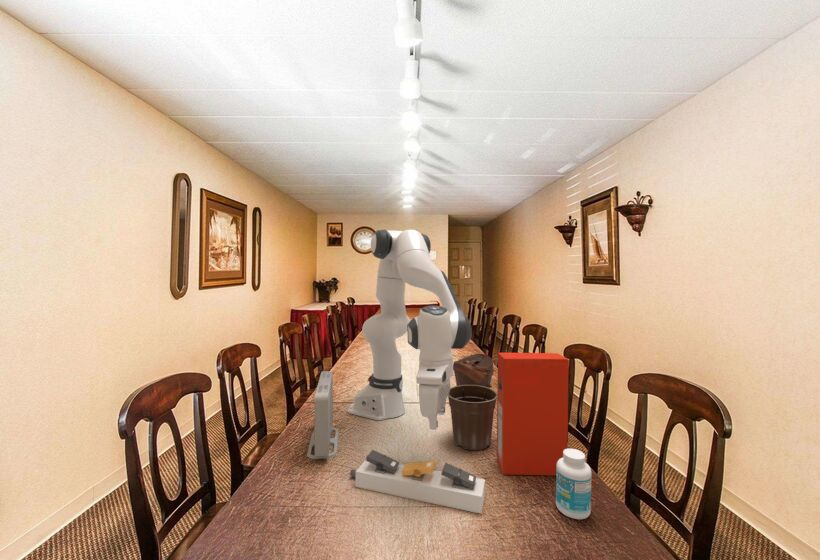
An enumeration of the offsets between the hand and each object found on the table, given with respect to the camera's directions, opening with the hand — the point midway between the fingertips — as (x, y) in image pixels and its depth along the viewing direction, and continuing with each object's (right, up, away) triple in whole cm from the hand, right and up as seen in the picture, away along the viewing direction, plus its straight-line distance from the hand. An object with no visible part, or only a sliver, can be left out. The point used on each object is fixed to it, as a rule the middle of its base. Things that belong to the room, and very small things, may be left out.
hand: (437, 420), depth 92 cm
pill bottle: (+31, -17, -10) cm, 37 cm away
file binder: (+27, -16, +7) cm, 32 cm away
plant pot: (+13, -16, +22) cm, 30 cm away
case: (+20, -15, +62) cm, 67 cm away
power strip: (-6, -16, -3) cm, 18 cm away
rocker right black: (+4, -11, -7) cm, 14 cm away
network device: (-35, -16, +21) cm, 44 cm away
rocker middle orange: (-5, -11, -4) cm, 12 cm away
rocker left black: (-15, -11, -1) cm, 18 cm away
